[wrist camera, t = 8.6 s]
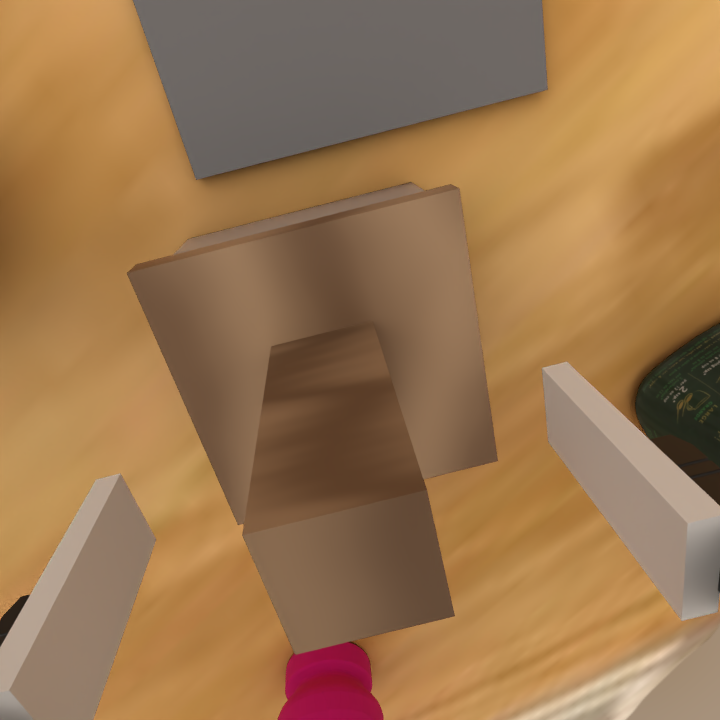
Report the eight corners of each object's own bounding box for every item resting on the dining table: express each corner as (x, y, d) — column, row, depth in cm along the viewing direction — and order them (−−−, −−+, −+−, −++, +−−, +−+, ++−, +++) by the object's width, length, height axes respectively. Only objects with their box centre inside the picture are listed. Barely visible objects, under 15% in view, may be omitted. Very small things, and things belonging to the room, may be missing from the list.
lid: (241, 507, 25) (195, 779, 15) (136, 264, 19) (-46, 425, 9) (489, 445, 24) (617, 678, 14) (450, 184, 19) (609, 260, 9)
